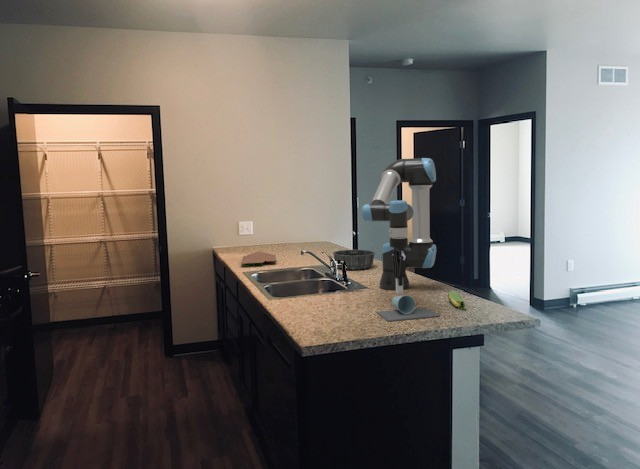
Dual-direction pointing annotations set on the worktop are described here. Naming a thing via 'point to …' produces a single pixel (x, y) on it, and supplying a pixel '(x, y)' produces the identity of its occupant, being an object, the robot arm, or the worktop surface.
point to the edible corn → (456, 300)
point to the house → (258, 258)
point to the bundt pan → (355, 258)
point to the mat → (416, 314)
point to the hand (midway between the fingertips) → (399, 292)
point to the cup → (404, 304)
